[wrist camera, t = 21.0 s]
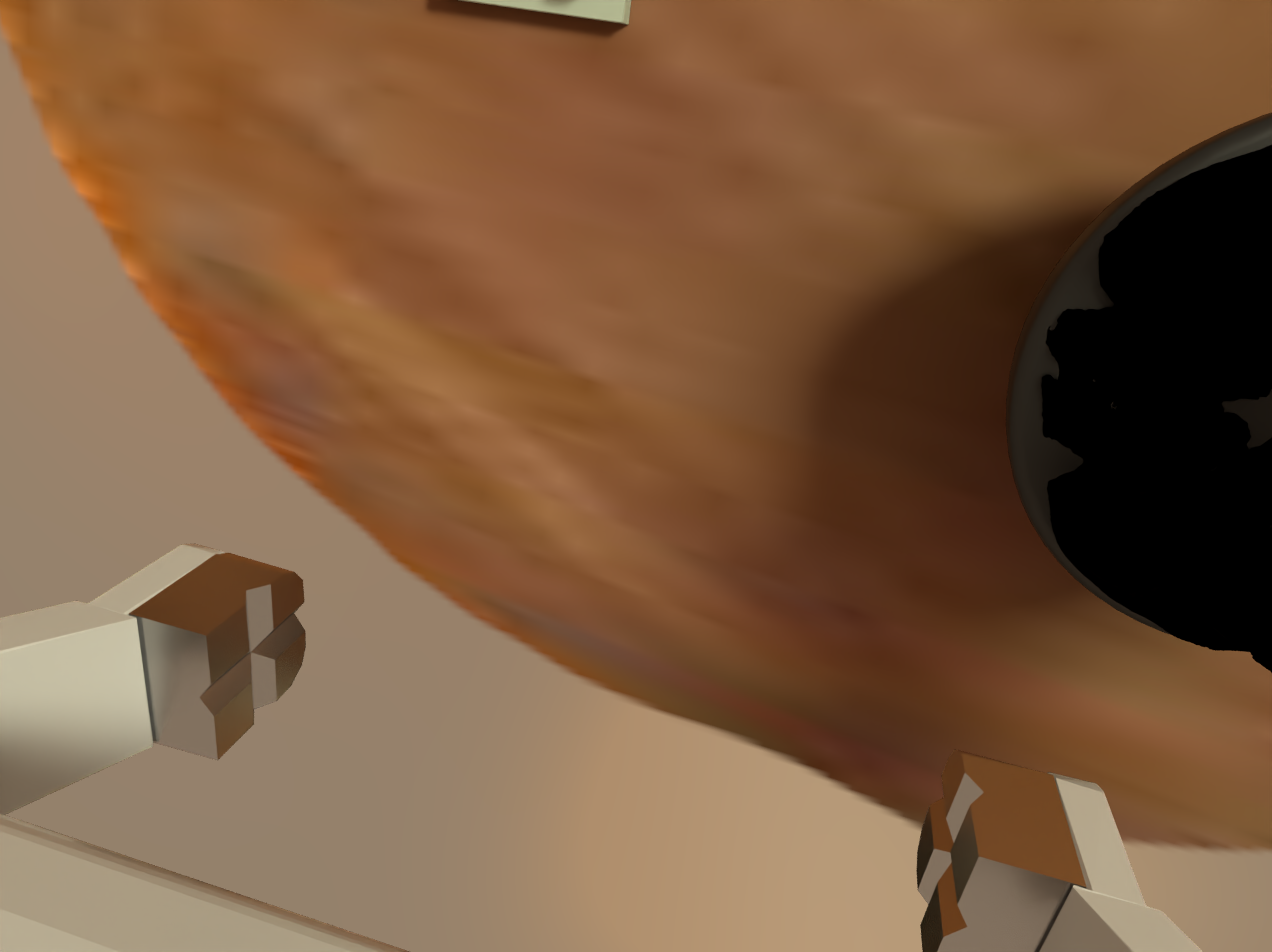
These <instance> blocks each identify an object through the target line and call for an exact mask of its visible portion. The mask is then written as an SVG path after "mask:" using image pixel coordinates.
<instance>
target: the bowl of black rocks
mask: <svg viewBox="0 0 1272 952" xmlns="http://www.w3.org/2000/svg"><path fill="white" fill-rule="evenodd" d="M1006 432H1007V443H1008V453H1009V458H1010V463H1011V468H1012V472H1013V477H1014V481H1015V484H1016V487H1017V490H1018V493H1019V496H1020V499H1021V502H1022V504H1023V506H1024V508H1025V511H1026V513H1027V515H1028V517H1029V519H1030V521H1031V523H1032V525H1033V527H1034V528H1035V530H1036V531H1037V533H1038V535H1039V536H1040V538H1041V539H1042V541H1043V543H1044V544H1045V545H1046V547H1047V548H1048V549H1049V550H1050V552H1051V553H1052V554H1053V556H1054V557H1055V558H1056V559H1057V561H1058V562H1059V563H1060V564H1061V565H1062V566H1063V567H1064V568H1065V569H1066V570H1067V571H1068V572H1069V573H1070V574H1071V575H1072V576H1073V577H1074V578H1075V579H1076V580H1077V581H1079V582H1080V583H1081V584H1082V585H1083V586H1085V587H1086V588H1087V589H1088V590H1089V591H1091V592H1092V593H1093V594H1094V595H1096V596H1097V597H1099V598H1100V599H1102V600H1103V601H1105V602H1106V603H1108V604H1109V605H1111V606H1112V607H1113V608H1115V609H1116V610H1118V611H1120V612H1122V613H1124V614H1126V615H1127V616H1129V617H1131V618H1133V619H1135V620H1137V621H1139V622H1141V623H1143V624H1145V625H1148V626H1150V627H1152V628H1155V629H1157V630H1159V631H1162V632H1164V633H1167V634H1170V635H1173V636H1175V637H1177V638H1180V639H1182V640H1185V641H1187V642H1191V643H1194V644H1195V645H1200V646H1202V647H1208V648H1209V649H1212V650H1222V651H1224V650H1231V651H1245V652H1250V653H1251V654H1252V655H1253V657H1252V658H1253V659H1254V660H1255V661H1256V662H1258V663H1260V664H1261V665H1262V666H1263V667H1265V668H1266V669H1268V670H1269V671H1271V673H1272V113H1269V114H1266V115H1263V116H1260V117H1258V118H1255V119H1253V120H1250V121H1248V122H1245V123H1243V124H1240V125H1238V126H1235V127H1233V128H1230V129H1228V130H1226V131H1223V132H1221V133H1219V134H1217V135H1215V136H1213V137H1211V138H1209V139H1207V140H1205V141H1203V142H1201V143H1199V144H1197V145H1195V146H1193V147H1191V148H1189V149H1187V150H1186V151H1184V152H1182V153H1181V154H1179V155H1177V156H1176V157H1174V158H1172V159H1171V160H1169V161H1167V162H1166V163H1164V164H1162V165H1161V166H1159V167H1158V168H1157V169H1155V170H1154V171H1152V172H1151V173H1150V174H1148V175H1147V176H1145V177H1144V178H1142V179H1141V180H1140V181H1138V182H1137V183H1135V184H1134V185H1133V186H1132V187H1130V188H1129V189H1128V190H1127V191H1126V192H1124V193H1123V194H1122V195H1121V196H1120V197H1119V198H1117V199H1116V200H1115V201H1114V202H1113V203H1111V204H1110V205H1109V206H1108V207H1107V208H1106V209H1105V210H1104V211H1103V212H1102V213H1101V214H1100V215H1099V216H1098V217H1097V218H1096V219H1095V220H1094V221H1093V222H1092V223H1091V224H1090V225H1089V226H1088V227H1087V228H1086V229H1085V230H1084V231H1083V232H1082V234H1081V235H1080V236H1079V237H1078V238H1077V239H1076V241H1075V242H1074V243H1073V244H1072V245H1071V246H1070V248H1069V249H1068V250H1067V251H1066V253H1065V254H1064V255H1063V257H1062V258H1061V260H1060V261H1059V262H1058V264H1057V265H1056V267H1055V268H1054V269H1053V271H1052V272H1051V274H1050V275H1049V277H1048V279H1047V280H1046V282H1045V284H1044V285H1043V287H1042V289H1041V291H1040V292H1039V294H1038V296H1037V297H1036V299H1035V301H1034V304H1033V306H1032V308H1031V310H1030V312H1029V314H1028V316H1027V319H1026V321H1025V323H1024V326H1023V329H1022V331H1021V334H1020V337H1019V340H1018V343H1017V346H1016V349H1015V353H1014V357H1013V362H1012V366H1011V370H1010V376H1009V384H1008V391H1007V399H1006Z"/></svg>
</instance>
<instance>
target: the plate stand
mask: <svg viewBox="0 0 1272 952" xmlns="http://www.w3.org/2000/svg"><path fill="white" fill-rule="evenodd" d="M460 1H467V2H474V3H481V4H488V5H495V6H502V7H509V8H516V9H523V10H530V11H537V12H544V13H551V14H558V15H565V16H572V17H579V18H586V19H593V20H600V21H607V22H614V23H621V24H628V23H629V15H630V6H631V0H460Z"/></svg>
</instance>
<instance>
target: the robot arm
mask: <svg viewBox="0 0 1272 952" xmlns="http://www.w3.org/2000/svg"><path fill="white" fill-rule="evenodd" d="M303 603H304V591H303V580H302V579H301V578H300V577H299V576H298V575H297V574H296V573H295V572H292V571H289V570H286V569H282V568H279V567H276V566H272V565H268V564H265V563H262V562H258V561H255V560H252V559H248V558H245V557H241V556H238V555H235V554H231V553H225V552H223V551H220V550H216V549H212V548H209V547H205V546H202V545H198V544H182V545H180V546H178V547H177V548H175V549H174V550H172V551H171V552H169V553H167V554H166V555H164V556H162V557H161V558H159V559H158V560H156V561H154V562H153V563H151V564H150V565H148V566H146V567H145V568H143V569H142V570H140V571H139V572H137V573H135V574H134V575H132V576H131V577H129V578H127V579H126V580H124V581H123V582H121V583H119V584H118V585H116V586H115V587H113V588H111V589H110V590H108V591H107V592H105V593H104V594H102V595H100V596H99V597H97V598H96V599H94V600H93V601H91V602H89V603H84V602H80V601H72V602H68V603H64V604H59V605H55V606H50V607H46V608H41V609H37V610H32V611H28V612H23V613H19V614H15V615H10V616H6V617H1V618H0V952H409V951H406V950H403V949H400V948H397V947H394V946H392V945H388V944H385V943H382V942H380V941H377V940H374V939H370V938H368V937H365V936H362V935H359V934H356V933H353V932H350V931H347V930H344V929H341V928H338V927H335V926H332V925H329V924H326V923H323V922H320V921H317V920H315V919H312V918H309V917H306V916H303V915H300V914H297V913H294V912H291V911H288V910H285V909H282V908H279V907H276V906H273V905H270V904H267V903H264V902H261V901H258V900H255V899H252V898H249V897H246V896H243V895H240V894H237V893H234V892H232V891H229V890H225V889H223V888H220V887H217V886H213V885H211V884H208V883H205V882H202V881H199V880H196V879H193V878H190V877H187V876H184V875H181V874H178V873H175V872H172V871H169V870H166V869H163V868H161V867H157V866H155V865H152V864H149V863H146V862H143V861H140V860H137V859H134V858H131V857H128V856H125V855H122V854H119V853H116V852H113V851H110V850H107V849H104V848H101V847H98V846H95V845H92V844H89V843H87V842H83V841H80V840H77V839H75V838H72V837H69V836H66V835H63V834H60V833H57V832H54V831H51V830H48V829H45V828H42V827H39V826H36V825H33V824H30V823H27V822H24V821H21V820H18V819H15V818H12V817H10V816H6V814H8V813H10V812H12V811H14V810H16V809H19V808H21V807H23V806H25V805H27V804H29V803H31V802H34V801H36V800H38V799H40V798H42V797H44V796H47V795H49V794H51V793H53V792H56V791H58V790H60V789H62V788H64V787H66V786H69V785H71V784H73V783H75V782H77V781H79V780H81V779H84V778H86V777H88V776H90V775H92V774H95V773H96V772H99V771H101V770H103V769H105V768H108V767H110V766H112V765H114V764H116V763H118V762H121V761H122V760H125V759H127V758H129V757H131V756H134V755H136V754H138V753H140V752H142V751H144V750H147V749H149V748H151V747H153V745H154V744H153V743H157V744H161V745H165V746H168V747H171V748H175V749H179V750H182V751H186V752H190V753H193V754H197V755H200V756H204V757H207V758H211V759H215V760H218V759H220V758H221V756H223V754H225V752H227V751H228V750H229V749H230V748H231V746H232V745H234V744H235V742H236V741H238V740H239V739H240V738H241V737H242V736H243V734H245V733H246V732H247V731H248V729H250V728H251V727H252V725H254V709H256V708H259V707H262V706H264V705H267V704H270V703H273V702H275V701H277V700H278V699H279V698H280V697H281V696H282V695H283V694H284V693H285V692H286V691H287V690H288V688H289V687H290V686H291V685H292V683H293V681H294V679H295V677H296V675H297V673H298V671H299V669H300V668H301V665H302V662H303V657H304V652H305V647H306V646H305V645H306V641H305V630H304V628H303V627H302V625H301V623H300V622H299V620H298V619H297V617H296V616H295V614H294V613H295V612H296V611H297V610H298V608H299V607H300V606H301V605H302V604H303ZM941 777H942V786H943V795H944V798H942V799H940V800H938V801H936V802H935V803H933V804H931V805H930V806H929V809H928V812H927V815H926V818H925V821H924V824H923V826H922V831H921V836H920V841H919V846H918V852H917V884H918V891H919V892H920V894H921V895H922V896H923V898H924V899H925V901H926V902H927V903H928V907H927V910H926V912H925V915H924V917H923V920H922V922H921V925H920V926H921V938H922V950H923V952H1203V951H1202V950H1201V949H1200V948H1199V947H1198V946H1197V945H1196V944H1195V943H1194V942H1193V941H1192V940H1190V938H1189V937H1188V936H1187V935H1186V934H1185V933H1184V932H1182V930H1181V929H1180V928H1178V927H1177V926H1176V925H1175V924H1174V923H1173V922H1172V921H1171V920H1170V919H1169V918H1168V917H1167V916H1166V915H1165V914H1164V913H1163V912H1162V911H1161V910H1157V909H1154V908H1151V907H1147V906H1146V904H1145V902H1144V899H1143V896H1142V893H1141V891H1140V888H1139V885H1138V883H1137V880H1136V877H1135V875H1134V872H1133V869H1132V866H1131V864H1130V861H1129V859H1128V856H1127V853H1126V850H1125V848H1124V845H1123V842H1122V840H1121V837H1120V834H1119V831H1118V829H1117V826H1116V823H1115V821H1114V818H1113V815H1112V813H1111V810H1110V807H1109V805H1108V802H1107V799H1106V797H1105V794H1104V791H1103V790H1102V789H1101V788H1100V787H1099V786H1098V785H1097V784H1096V783H1092V782H1088V781H1084V780H1079V779H1075V778H1071V777H1067V776H1063V775H1059V774H1054V773H1050V772H1048V773H1044V772H1040V771H1036V770H1032V769H1029V768H1025V767H1021V766H1017V765H1013V764H1010V763H1006V762H1002V761H998V760H994V759H991V758H987V757H983V756H979V755H975V754H972V753H968V752H964V751H960V750H956V749H955V750H954V751H953V753H952V754H951V755H950V757H949V758H948V760H947V763H946V765H945V768H944V770H943V773H942V775H941Z"/></svg>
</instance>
